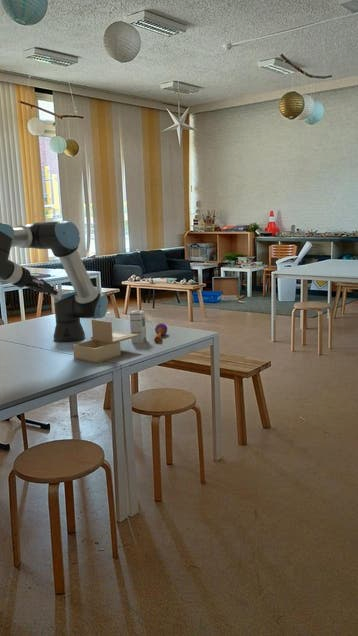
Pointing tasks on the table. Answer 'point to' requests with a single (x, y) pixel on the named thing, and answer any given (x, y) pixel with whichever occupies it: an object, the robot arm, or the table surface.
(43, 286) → the robot arm
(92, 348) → the box
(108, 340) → the lid
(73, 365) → the table surface
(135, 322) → the syrup box
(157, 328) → the kendama
